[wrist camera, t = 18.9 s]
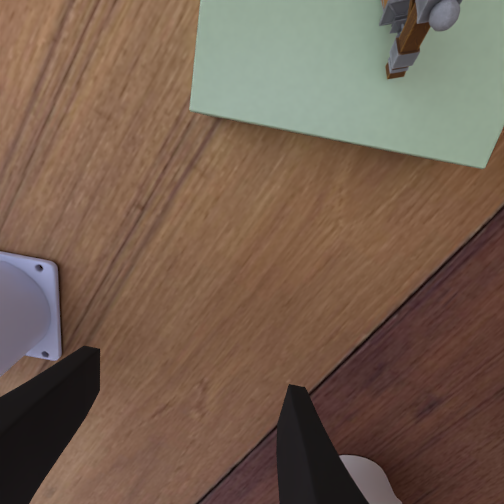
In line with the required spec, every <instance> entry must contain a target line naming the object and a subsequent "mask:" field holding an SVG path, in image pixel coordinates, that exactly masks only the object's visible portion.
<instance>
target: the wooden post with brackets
mask: <svg viewBox="0 0 504 504" xmlns="http://www.w3.org/2000/svg"><path fill="white" fill-rule="evenodd" d="M380 1H381V4H382V9H383V14H382V17H381V19H380V22H379V26H384V25H389V24H392V25H391V27H392V28H391V30H390V33H389V34H391V33H397V36H396V37H395V41H394V43H393V45H392V47H391V50H390V52H389V54H390V57H389V58H388V63H387V64H386V66H385V68H386V75H387V79H393V78H399V77H404V75H405V73H406V71H408V69H409V66H413V64H414V62H415V60H416V59H417V57H418V55H419V53H420V45H421V43H422V42H423V40H424V38H425V36H426V34H427V33H428V31H429V29H430V27H432V28H433V29H434V30H435V31H445V30H447V29H449V28H451V27H452V26H453V25H454V24H455V23H456V21H457V20H458V17H459V14H460V4H461V2H462V0H380ZM400 32H401V33H400Z"/></svg>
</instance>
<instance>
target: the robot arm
mask: <svg viewBox="0 0 504 504" xmlns="http://www.w3.org/2000/svg"><path fill="white" fill-rule="evenodd" d="M39 265H41V266H42V267H43V269H41V268H40V266H39ZM24 355H26V356H31V357H37V358H42V359H47V360H53V361H56V360H58V359H59V358H60V357H61V355H62V348H61V327H60V305H59V284H58V268H57V265H56V264H55V263H54V262H52V261H49V260H44V259H39V258H33V257H28V256H23V255H18V254H12V253H7V252H2V251H0V377H1V376H2V375H3V374H4V373H5V372H6V371H7V370H9V369H10V368H11V367H12V366H13V365H14V364H15V363H16V362H17V361H18V360H20V359H21V358H22V357H23V356H24ZM99 391H100V349H98V348H93V347H88V346H83V347H81V348H80V349H78V350H77V351H75V352H73V353H72V354H70V355H69V356H67V357H66V358H64V359H62V360H61V361H59V362H58V363H56V364H55V365H53V366H52V367H50V368H48V369H47V370H45V371H44V372H42V373H40V374H39V375H37V376H36V377H34V378H32V379H31V380H29V381H27V382H26V383H24V384H22V385H21V386H19V387H17V388H15V389H14V390H12V391H10V392H8V393H7V394H5V395H3V396H2V397H0V504H29V503H30V501H31V499H32V498H33V496H34V494H35V493H36V491H37V489H38V488H39V486H40V485H41V483H42V481H43V480H44V478H45V477H46V476H47V474H48V473H49V471H50V470H51V468H52V467H53V465H54V464H55V462H56V461H57V459H58V458H59V456H60V455H61V453H62V452H63V450H64V449H65V448H66V446H67V445H68V443H69V442H70V440H71V439H72V437H73V436H74V434H75V433H76V431H77V430H78V428H79V427H80V425H81V424H82V422H83V421H84V419H85V418H86V416H87V414H88V412H89V410H90V408H91V407H92V405H93V403H94V401H95V399H96V397H97V395H98V393H99ZM276 454H277V470H278V485H279V500H280V504H369V503H368V501H367V500H366V498H365V497H364V495H363V494H362V492H361V491H360V489H359V488H358V486H357V485H356V483H355V482H354V480H353V478H352V477H351V475H350V474H349V472H348V470H347V469H346V467H345V465H344V464H343V462H342V460H341V458H340V457H339V455H338V453H337V451H336V450H335V448H334V446H333V444H332V442H331V440H330V438H329V436H328V434H327V433H326V431H325V429H324V427H323V425H322V423H321V421H320V418H319V416H318V414H317V412H316V410H315V408H314V406H313V403H312V401H311V399H310V396H309V394H308V392H307V390H306V388H305V387H301V386H296V385H291V384H289V386H288V389H287V393H286V396H285V399H284V403H283V406H282V410H281V413H280V417H279V420H278V424H277V451H276Z"/></svg>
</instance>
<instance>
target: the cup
mask: <svg viewBox="0 0 504 504" xmlns="http://www.w3.org/2000/svg"><path fill="white" fill-rule="evenodd" d="M339 457H340V458H341V460H342V462H343V464H344V465H345V467H346V469H347V470H348V472H349V474H350V475H351V477H352V478H353V480H354V482H355V483H356V485H357V486H358V488H359V489H360V491H361V492H362V494H363V495H364V497H365V498H366V500H367V501H368V503H369V504H402V502H401V501H400V500H399V499H398V498H397V497H396V496H395V494H394V492H393V490H392V488H391V485H390V483H389V481H388V479H387V476H386V474H385V473H384V471H383V469H382V468H381V467H380V466H379V465H377V464H376V463H375V462H373V461H371V460H369V459H367V458H363V457H359V456H355V455H340V456H339Z"/></svg>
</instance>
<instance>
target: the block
mask: <svg viewBox="0 0 504 504" xmlns="http://www.w3.org/2000/svg"><path fill="white" fill-rule="evenodd" d="M382 14H383V9H382V4H381V1H380V0H200V9H199V18H198V28H197V38H196V48H195V58H194V68H193V78H192V88H191V98H190V108H189V109H190V111H191V112H195V113H199V114H203V115H207V116H212V117H218V118H223V119H228V120H233V121H238V122H243V123H248V124H253V125H258V126H263V127H268V128H273V129H278V130H283V131H289V132H294V133H299V134H304V135H309V136H314V137H319V138H324V139H329V140H334V141H339V142H344V143H349V144H355V145H360V146H365V147H370V148H375V149H380V150H385V151H390V152H395V153H400V154H405V155H410V156H415V157H420V158H426V159H431V160H436V161H441V162H447V163H452V164H458V165H463V166H469V167H474V168H480V169H484V168H485V167H486V165H487V163H488V160H489V158H490V156H491V154H492V151H493V149H494V147H495V144H496V142H497V140H498V138H499V135H500V133H501V131H502V129H503V126H504V0H462V2H461V4H460V14H459V17H458V20H457V21H456V23H455V24H454V25H453V26H452V27H451V28H449V29H447V30H445V31H435V30H434V29H433V28H432V27H430V29H429V31H428V33H427V34H426V36H425V38H424V40H423V42H422V43H421V45H420V53H419V55H418V57H417V59H416V60H415V62H414V64H413V66H409V69H408V71H406V73H405V75H404V77H399V78H393V79H387V75H386V68H385V66H386V64H387V63H388V58H389V57H390V54H389V52H390V50H391V47H392V45H393V43H394V41H395V37H396V36H397V33H391V34H389V33H390V30H391V28H392V27H391V25H392V24H389V25H384V26H379V22H380V19H381V17H382ZM400 33H401V32H400Z"/></svg>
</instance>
